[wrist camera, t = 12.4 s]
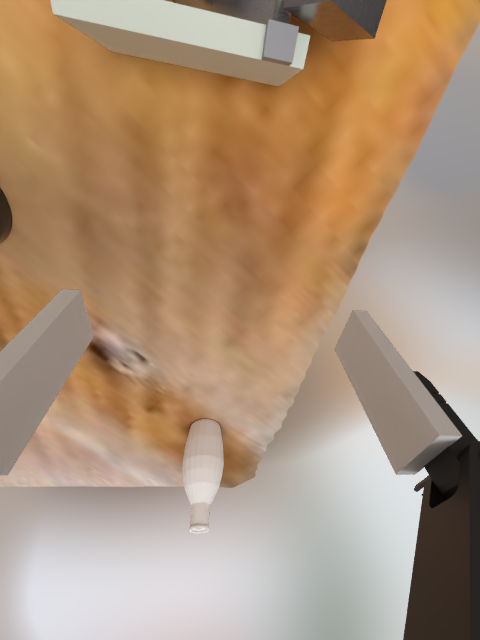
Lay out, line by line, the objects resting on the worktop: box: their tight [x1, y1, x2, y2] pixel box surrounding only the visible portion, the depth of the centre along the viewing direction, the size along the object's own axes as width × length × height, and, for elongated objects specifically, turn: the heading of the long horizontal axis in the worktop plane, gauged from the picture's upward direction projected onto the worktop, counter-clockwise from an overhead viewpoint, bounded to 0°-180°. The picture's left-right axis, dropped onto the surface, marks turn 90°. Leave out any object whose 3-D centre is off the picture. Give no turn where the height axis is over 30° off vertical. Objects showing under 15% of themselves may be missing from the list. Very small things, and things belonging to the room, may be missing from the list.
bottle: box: [183, 419, 224, 533], centre depth 68 cm, size 11×11×25 cm
